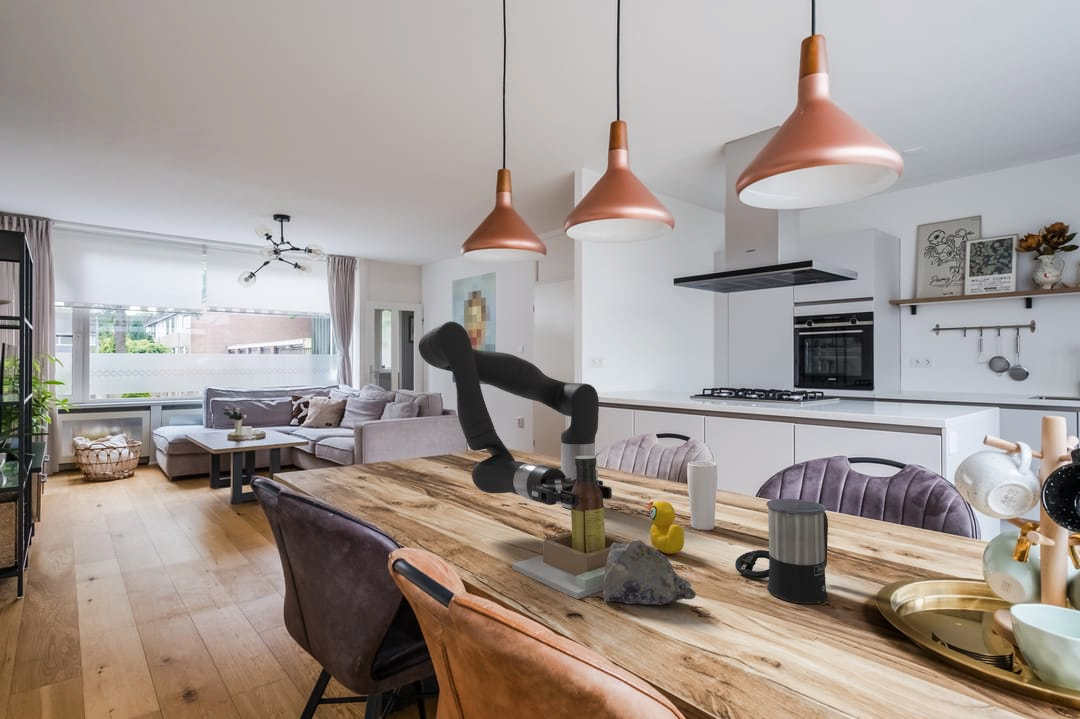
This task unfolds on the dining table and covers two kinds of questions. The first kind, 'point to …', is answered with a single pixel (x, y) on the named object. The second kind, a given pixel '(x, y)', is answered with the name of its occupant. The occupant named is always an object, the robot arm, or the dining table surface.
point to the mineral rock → (642, 576)
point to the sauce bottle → (587, 508)
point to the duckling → (665, 528)
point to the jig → (569, 566)
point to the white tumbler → (702, 493)
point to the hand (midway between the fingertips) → (594, 496)
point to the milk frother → (793, 551)
